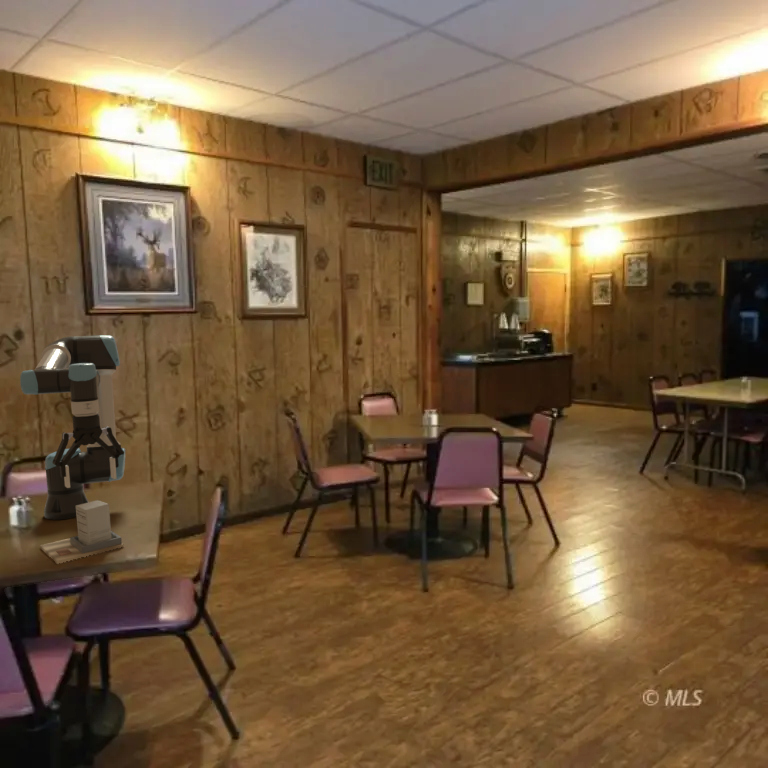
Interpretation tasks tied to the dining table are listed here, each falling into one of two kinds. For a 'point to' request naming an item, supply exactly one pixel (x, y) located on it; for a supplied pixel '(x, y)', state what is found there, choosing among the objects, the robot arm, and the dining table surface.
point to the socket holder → (96, 546)
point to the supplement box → (93, 522)
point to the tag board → (69, 551)
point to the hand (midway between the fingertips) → (91, 482)
